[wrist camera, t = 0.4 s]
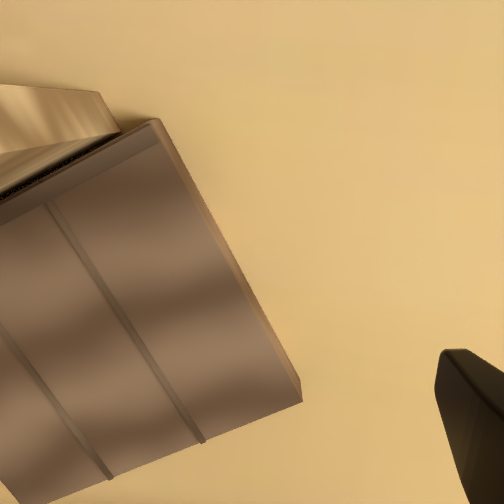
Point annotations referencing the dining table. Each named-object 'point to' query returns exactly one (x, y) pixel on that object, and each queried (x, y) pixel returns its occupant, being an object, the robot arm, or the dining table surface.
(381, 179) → the dining table surface
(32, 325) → the wooden panel
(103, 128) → the plank
